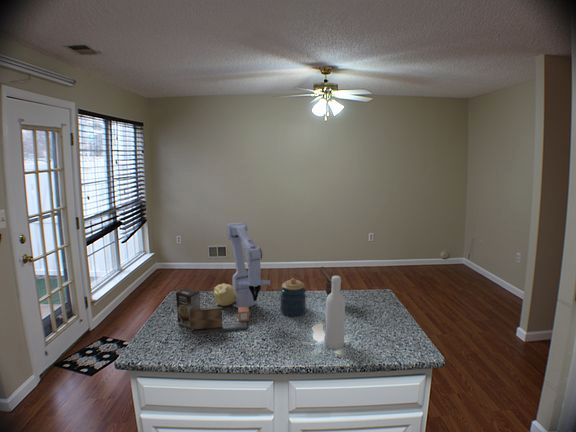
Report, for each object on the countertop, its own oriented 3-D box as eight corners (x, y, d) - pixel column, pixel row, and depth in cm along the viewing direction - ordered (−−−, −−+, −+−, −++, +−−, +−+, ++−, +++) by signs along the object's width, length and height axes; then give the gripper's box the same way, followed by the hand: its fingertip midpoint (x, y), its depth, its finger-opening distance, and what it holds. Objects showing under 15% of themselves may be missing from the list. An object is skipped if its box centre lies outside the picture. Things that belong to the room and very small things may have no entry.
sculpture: (211, 301, 182) (210, 282, 180) (232, 297, 188) (232, 278, 186) (217, 310, 172) (216, 290, 170) (239, 305, 178) (239, 286, 176)
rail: (246, 324, 158) (246, 322, 158) (247, 328, 154) (246, 326, 154) (193, 329, 154) (193, 327, 154) (192, 334, 150) (192, 331, 150)
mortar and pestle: (320, 307, 175) (320, 271, 171) (318, 300, 184) (319, 265, 180) (342, 307, 175) (343, 270, 171) (339, 300, 184) (340, 265, 180)
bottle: (331, 337, 147) (333, 272, 142) (347, 343, 142) (349, 276, 137) (321, 345, 141) (322, 277, 136) (337, 352, 136) (339, 282, 131)
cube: (248, 315, 167) (248, 306, 166) (249, 321, 162) (249, 311, 161) (238, 316, 166) (238, 307, 165) (238, 322, 161) (238, 312, 160)
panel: (222, 325, 155) (221, 306, 153) (222, 326, 153) (221, 308, 151) (191, 328, 152) (189, 309, 151) (190, 329, 151) (189, 311, 149)
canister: (306, 305, 177) (306, 274, 174) (305, 317, 164) (305, 283, 161) (282, 304, 178) (281, 273, 175) (278, 316, 166) (278, 282, 162)
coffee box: (177, 324, 159) (175, 292, 156) (187, 318, 164) (185, 287, 161) (191, 329, 154) (189, 296, 151) (201, 322, 160) (199, 290, 157)
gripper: (239, 277, 152) (240, 305, 155) (270, 275, 155) (271, 302, 158) (238, 271, 159) (239, 298, 162) (269, 269, 162) (269, 296, 164)
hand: (255, 300), depth 160 cm, fingers closed
